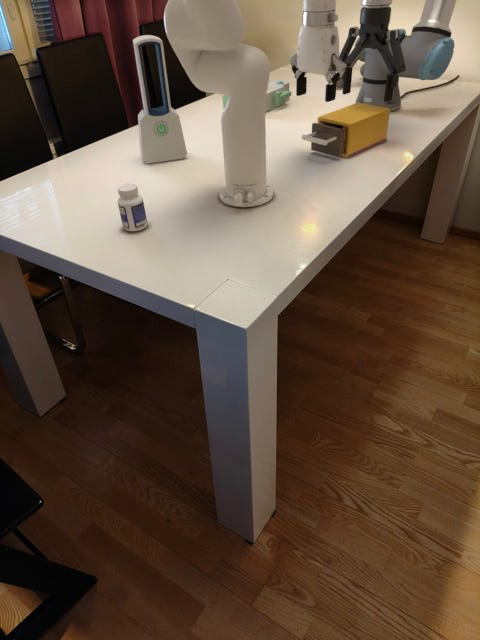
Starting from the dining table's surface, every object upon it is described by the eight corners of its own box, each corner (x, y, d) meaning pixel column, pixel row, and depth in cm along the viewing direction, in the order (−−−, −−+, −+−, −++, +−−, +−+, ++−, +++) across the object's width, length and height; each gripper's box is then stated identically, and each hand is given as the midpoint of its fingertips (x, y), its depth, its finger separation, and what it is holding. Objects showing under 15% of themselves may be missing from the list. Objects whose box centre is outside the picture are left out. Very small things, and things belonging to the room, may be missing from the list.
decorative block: (254, 76, 186) (299, 81, 176) (254, 94, 190) (299, 100, 180) (212, 92, 170) (260, 98, 160) (214, 111, 174) (260, 118, 164)
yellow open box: (347, 158, 132) (350, 124, 126) (316, 149, 138) (317, 117, 133) (385, 140, 141) (390, 108, 136) (354, 133, 148) (357, 102, 142)
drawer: (326, 163, 127) (328, 135, 123) (298, 155, 133) (299, 128, 128) (376, 140, 139) (379, 115, 134) (348, 134, 144) (350, 109, 140)
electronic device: (143, 164, 135) (122, 41, 116) (140, 155, 141) (120, 37, 122) (187, 158, 137) (173, 36, 119) (183, 149, 143) (169, 32, 124)
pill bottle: (149, 220, 107) (142, 181, 102) (146, 231, 103) (138, 191, 98) (125, 221, 107) (116, 182, 102) (121, 232, 103) (112, 193, 98)
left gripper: (358, 19, 110) (352, 100, 120) (302, 15, 120) (300, 89, 131) (337, 23, 106) (332, 106, 117) (280, 19, 117) (280, 95, 127)
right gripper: (429, 6, 117) (414, 100, 130) (344, 3, 131) (338, 88, 144) (412, 9, 113) (398, 106, 126) (327, 6, 127) (322, 93, 140)
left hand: (315, 97), depth 124 cm, fingers open, 9 cm apart
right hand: (366, 97), depth 135 cm, fingers open, 13 cm apart
